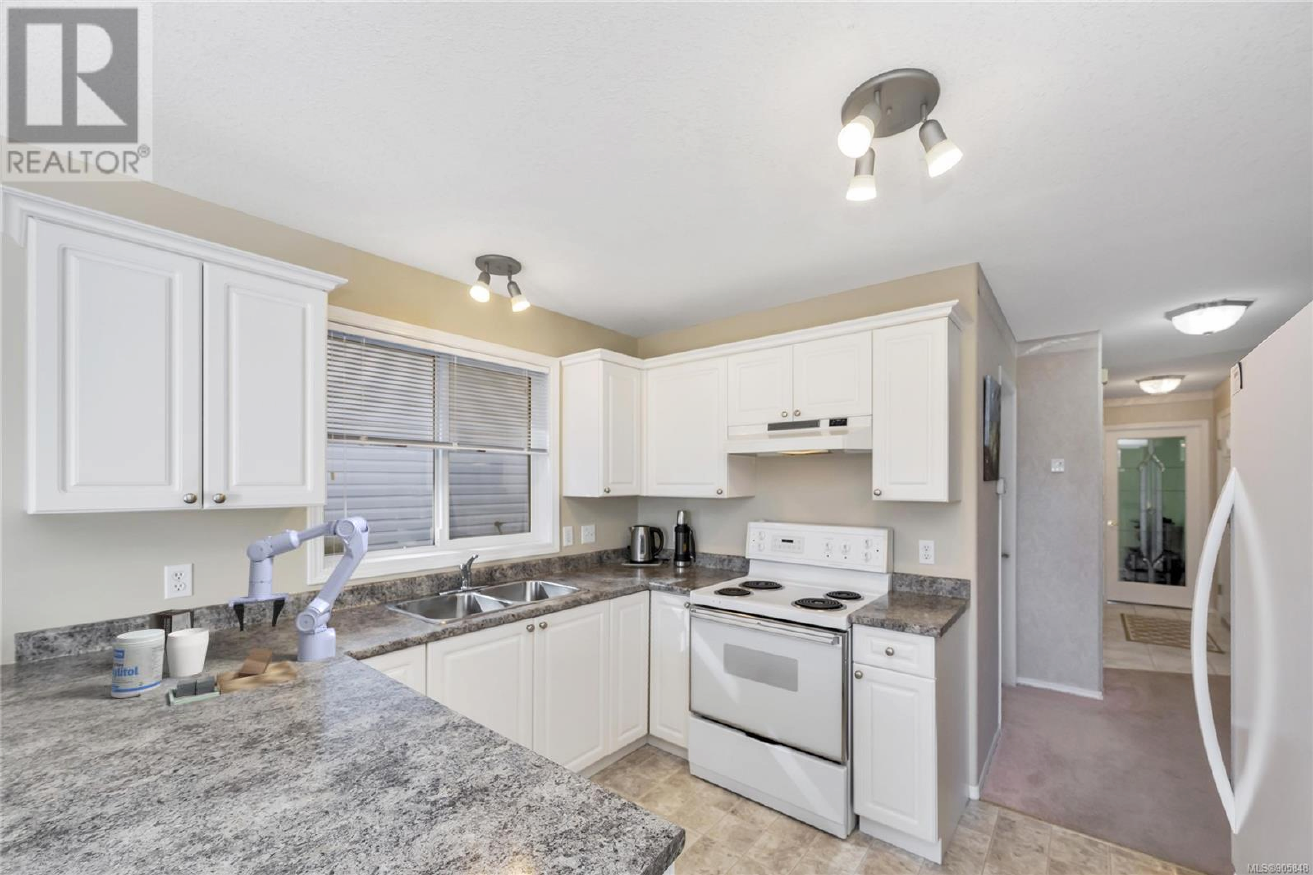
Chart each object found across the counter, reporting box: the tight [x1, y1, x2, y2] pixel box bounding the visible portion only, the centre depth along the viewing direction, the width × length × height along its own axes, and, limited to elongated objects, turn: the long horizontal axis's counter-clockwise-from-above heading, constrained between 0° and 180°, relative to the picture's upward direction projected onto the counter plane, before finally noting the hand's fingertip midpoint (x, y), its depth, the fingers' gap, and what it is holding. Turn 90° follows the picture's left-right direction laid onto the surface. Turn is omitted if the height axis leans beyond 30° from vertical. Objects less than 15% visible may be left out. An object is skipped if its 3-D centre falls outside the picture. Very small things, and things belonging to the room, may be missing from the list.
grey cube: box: [195, 675, 216, 696], centre depth 141 cm, size 4×4×4 cm
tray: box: [167, 687, 220, 707], centre depth 139 cm, size 9×11×2 cm
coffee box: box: [148, 608, 195, 674], centre depth 162 cm, size 9×6×16 cm
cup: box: [166, 627, 210, 679], centre depth 155 cm, size 9×9×12 cm
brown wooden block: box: [238, 647, 275, 679], centre depth 149 cm, size 2×5×9 cm
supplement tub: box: [110, 628, 165, 699], centre depth 144 cm, size 10×10×15 cm
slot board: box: [215, 660, 298, 695], centre depth 147 cm, size 16×10×3 cm, turn 133°
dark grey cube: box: [175, 677, 198, 698], centre depth 139 cm, size 4×4×4 cm
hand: (257, 628), depth 165 cm, fingers open, 7 cm apart
